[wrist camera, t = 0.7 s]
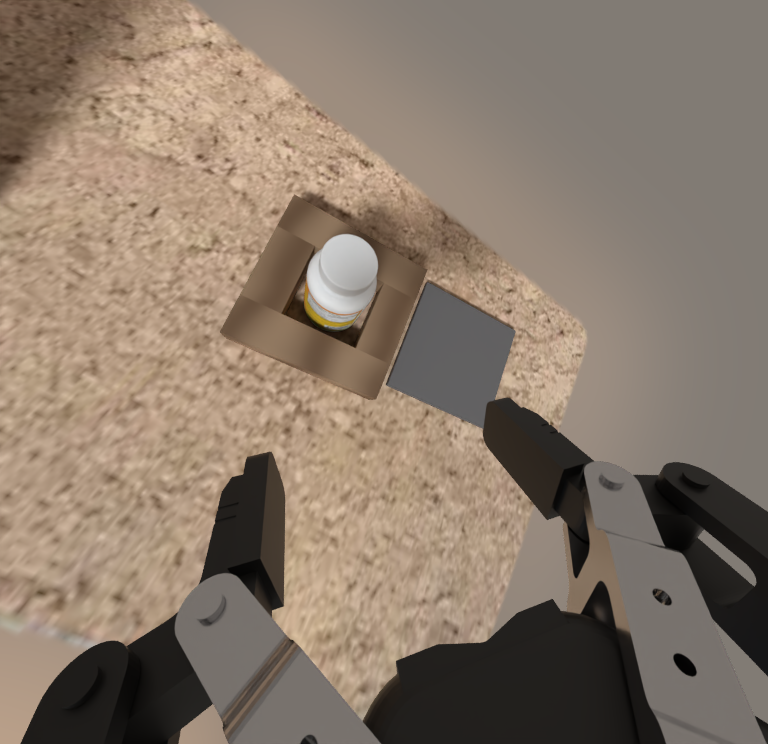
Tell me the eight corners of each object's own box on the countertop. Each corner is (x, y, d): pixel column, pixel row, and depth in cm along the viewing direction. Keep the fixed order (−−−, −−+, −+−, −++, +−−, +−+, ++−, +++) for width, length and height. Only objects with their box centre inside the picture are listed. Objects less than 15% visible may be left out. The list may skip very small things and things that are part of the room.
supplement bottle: (330, 268, 30) (347, 207, 21) (369, 307, 31) (403, 265, 21) (291, 304, 28) (291, 256, 19) (333, 344, 29) (353, 316, 20)
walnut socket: (226, 338, 26) (219, 331, 24) (294, 211, 29) (294, 194, 27) (369, 399, 30) (376, 399, 27) (417, 279, 33) (427, 269, 30)
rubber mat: (385, 385, 30) (387, 384, 30) (425, 284, 33) (427, 281, 32) (482, 428, 33) (485, 428, 32) (512, 332, 36) (515, 330, 35)
